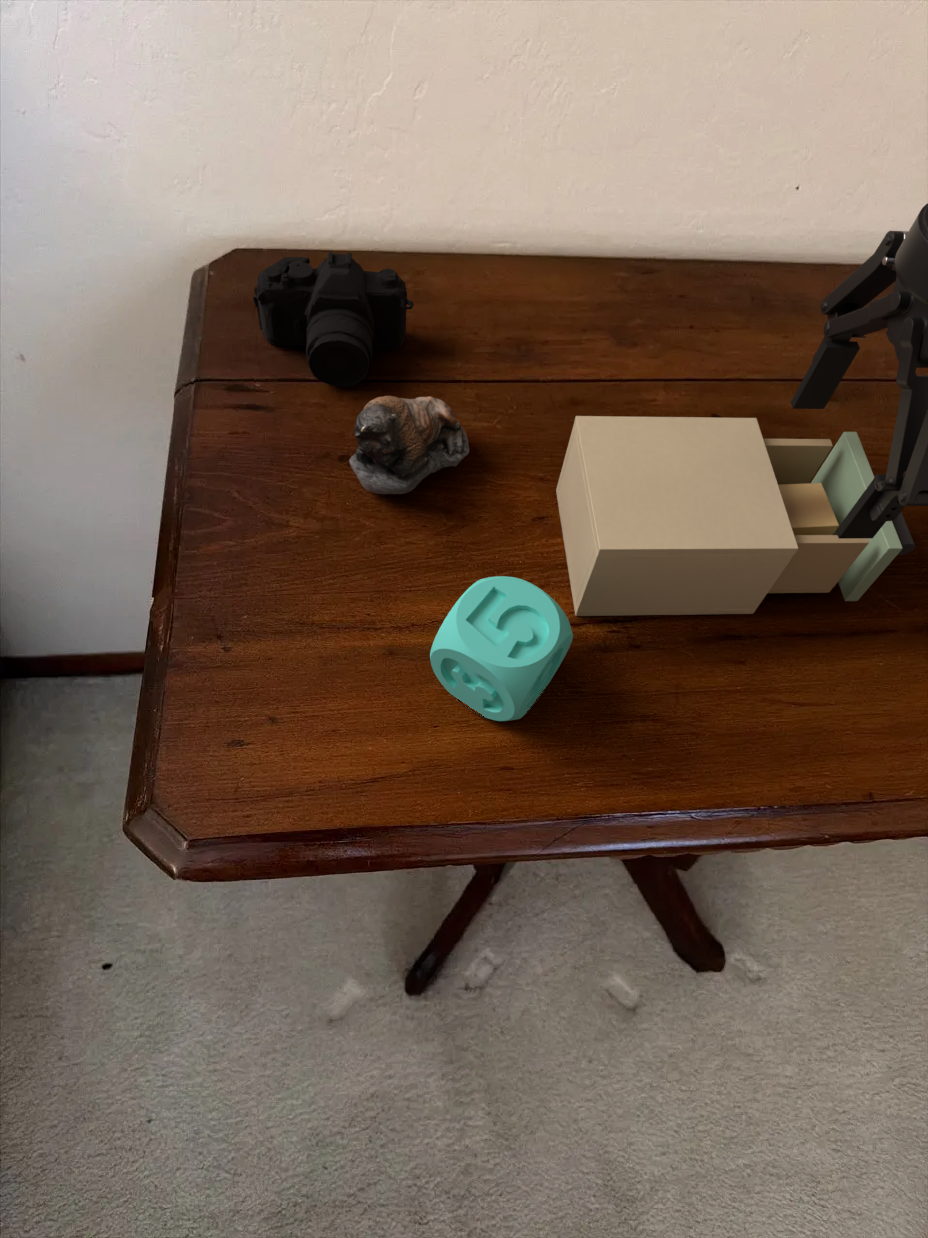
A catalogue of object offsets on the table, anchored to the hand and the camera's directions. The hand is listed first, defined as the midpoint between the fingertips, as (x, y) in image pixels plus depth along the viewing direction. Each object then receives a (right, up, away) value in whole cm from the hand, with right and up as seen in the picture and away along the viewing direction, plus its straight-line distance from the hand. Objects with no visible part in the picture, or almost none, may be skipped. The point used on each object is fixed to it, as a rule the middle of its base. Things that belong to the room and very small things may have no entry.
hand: (829, 467), depth 70 cm
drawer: (-1, -5, +9) cm, 10 cm away
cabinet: (-12, -6, +8) cm, 16 cm away
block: (-1, -5, +8) cm, 9 cm away
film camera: (-42, +14, +18) cm, 48 cm away
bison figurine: (-34, +1, +11) cm, 36 cm away
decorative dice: (-27, -17, +1) cm, 31 cm away
